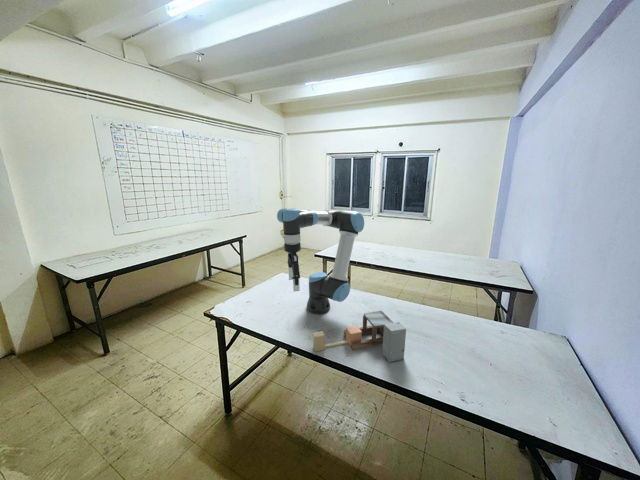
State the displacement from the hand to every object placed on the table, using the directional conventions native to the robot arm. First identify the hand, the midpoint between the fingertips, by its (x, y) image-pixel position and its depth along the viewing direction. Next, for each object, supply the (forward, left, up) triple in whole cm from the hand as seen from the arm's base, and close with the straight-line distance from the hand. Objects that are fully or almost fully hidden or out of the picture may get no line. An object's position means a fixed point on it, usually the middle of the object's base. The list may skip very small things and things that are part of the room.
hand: (294, 285), depth 121 cm
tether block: (+8, +19, -32) cm, 38 cm away
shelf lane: (+8, +35, -32) cm, 48 cm away
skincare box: (+23, +42, -32) cm, 58 cm away
